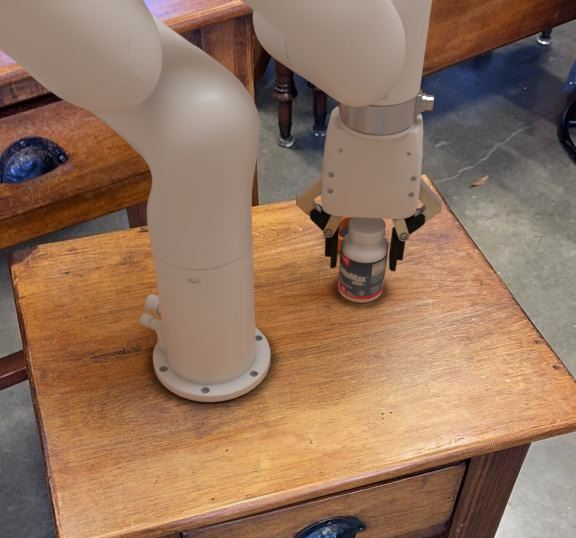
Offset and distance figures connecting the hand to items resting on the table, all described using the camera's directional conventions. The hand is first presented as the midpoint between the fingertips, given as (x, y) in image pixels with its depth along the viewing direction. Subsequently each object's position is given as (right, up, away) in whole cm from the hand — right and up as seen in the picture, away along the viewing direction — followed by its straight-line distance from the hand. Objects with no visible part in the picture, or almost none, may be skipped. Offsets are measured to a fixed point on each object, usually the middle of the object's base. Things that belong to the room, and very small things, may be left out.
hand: (362, 260), depth 94 cm
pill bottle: (0, -2, +3) cm, 4 cm away
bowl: (0, +5, +9) cm, 10 cm away
